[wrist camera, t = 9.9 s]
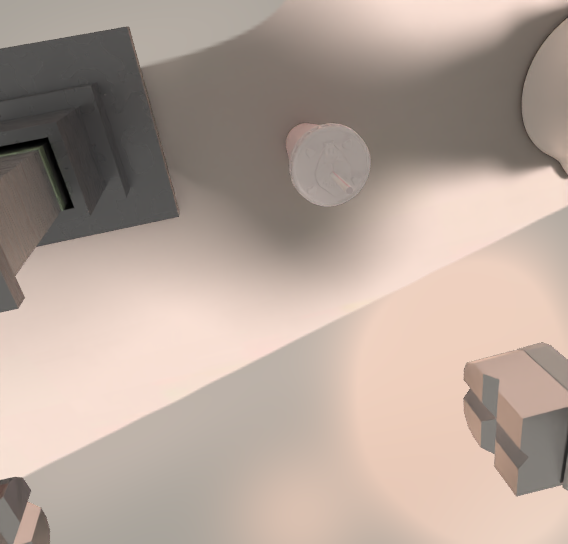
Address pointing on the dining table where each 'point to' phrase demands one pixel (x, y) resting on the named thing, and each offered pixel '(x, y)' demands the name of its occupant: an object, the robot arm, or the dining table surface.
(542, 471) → the robot arm
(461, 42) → the dining table surface
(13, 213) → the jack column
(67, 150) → the base
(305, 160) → the smoothie
